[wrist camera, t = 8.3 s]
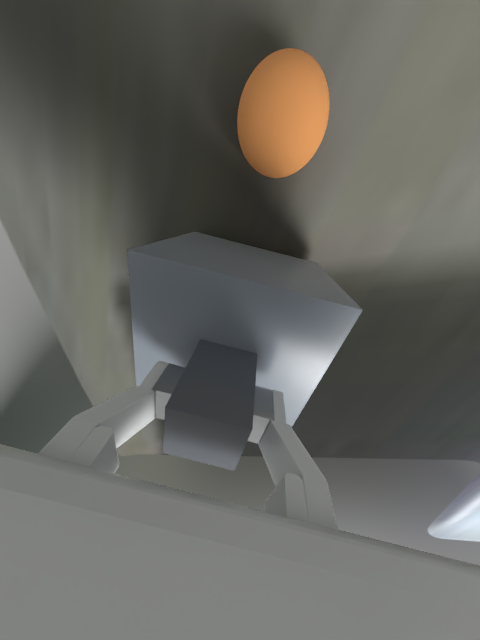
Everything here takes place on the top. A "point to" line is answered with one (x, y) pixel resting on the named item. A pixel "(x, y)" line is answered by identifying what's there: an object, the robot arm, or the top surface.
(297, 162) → the ball
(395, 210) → the top surface
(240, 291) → the grey box with knob
